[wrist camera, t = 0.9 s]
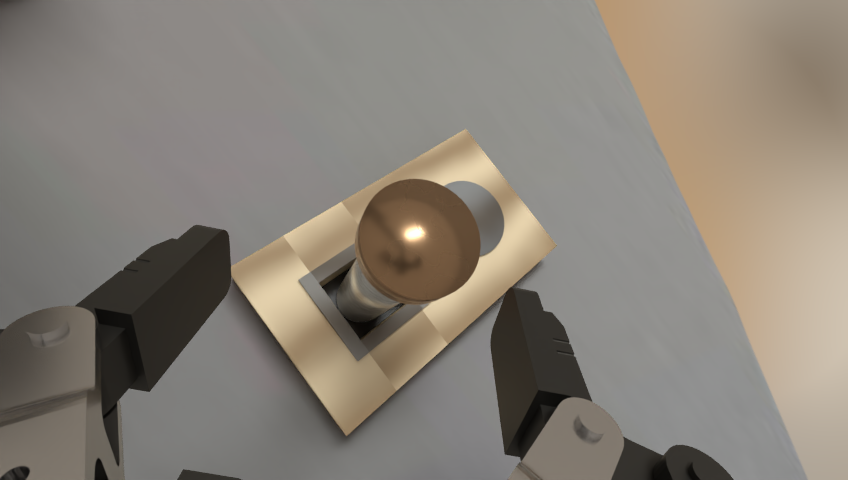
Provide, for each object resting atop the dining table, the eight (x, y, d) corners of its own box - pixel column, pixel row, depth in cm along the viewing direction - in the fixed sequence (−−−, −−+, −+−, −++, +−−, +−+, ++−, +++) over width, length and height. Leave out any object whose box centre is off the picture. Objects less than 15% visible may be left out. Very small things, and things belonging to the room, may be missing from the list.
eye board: (232, 278, 30) (226, 268, 27) (453, 145, 40) (467, 127, 37) (341, 429, 29) (347, 436, 26) (538, 254, 39) (558, 244, 36)
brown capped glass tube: (312, 290, 31) (333, 217, 16) (367, 252, 34) (431, 159, 19) (353, 347, 31) (414, 326, 16) (406, 305, 33) (503, 252, 18)
